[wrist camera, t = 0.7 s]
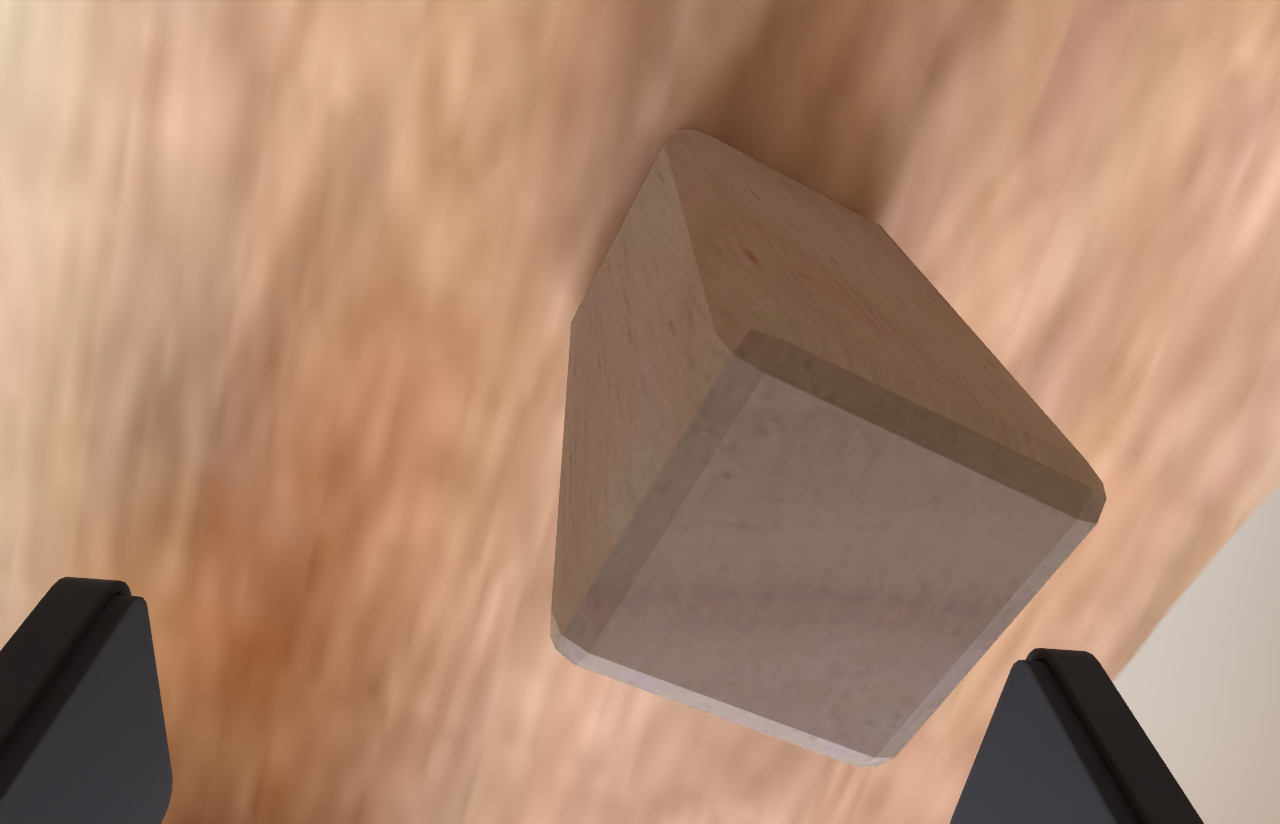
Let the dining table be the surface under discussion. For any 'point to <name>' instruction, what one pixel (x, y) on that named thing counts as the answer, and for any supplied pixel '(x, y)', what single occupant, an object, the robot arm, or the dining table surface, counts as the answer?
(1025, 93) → the dining table surface
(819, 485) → the block
